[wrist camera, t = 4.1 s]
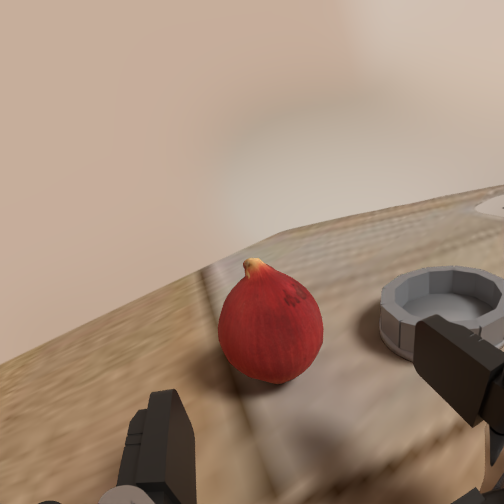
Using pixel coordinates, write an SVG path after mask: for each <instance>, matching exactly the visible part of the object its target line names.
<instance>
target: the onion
mask: <svg viewBox="0 0 504 504" xmlns="http://www.w3.org/2000/svg"><path fill="white" fill-rule="evenodd" d="M243 267H244V268H245V277H244V278H243V279H241V280H240V281H239V282H238V283H237V285H236V286H235V287H234V288H233V289H232V290H231V292H230V293H229V294H228V296H227V298H226V300H225V302H224V305H223V308H222V311H221V314H220V318H219V324H218V337H219V342H220V345H221V347H222V349H223V352H224V354H225V356H226V358H227V359H228V361H229V363H231V364H232V365H233V366H234V367H235V368H236V369H237V370H239V371H240V372H242V373H243V374H245V375H247V376H248V377H251V378H255V379H259V380H262V381H266V382H270V383H273V384H281V383H285V382H287V381H290V380H292V379H294V378H296V377H297V376H299V375H300V374H302V373H303V372H304V371H305V370H306V369H307V368H308V367H309V366H310V365H311V364H312V362H313V361H314V359H315V358H316V356H317V354H318V352H319V350H320V348H321V345H322V343H323V322H322V317H321V313H320V310H319V307H318V305H317V303H316V301H315V299H314V298H313V296H312V295H311V294H310V292H309V291H308V290H307V289H306V288H305V287H304V286H303V285H301V284H300V283H299V282H298V281H296V280H295V279H293V278H291V277H289V276H288V275H286V274H284V273H281V272H279V271H277V270H275V269H274V268H272V267H271V266H269V265H267V264H265V263H263V262H262V261H261V260H260V259H259V258H249V259H247V260H245V261H244V263H243Z"/></svg>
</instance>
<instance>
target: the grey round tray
mask: <svg viewBox="0 0 504 504" xmlns="http://www.w3.org/2000/svg"><path fill="white" fill-rule="evenodd" d="M380 306H381V316H380V320H379V331H380V336H381V338H382V340H383V342H384V343H385V344H386V346H387V347H388V348H389V349H391V350H392V351H393V352H394V353H396V354H397V355H399V356H401V357H403V358H405V359H407V360H409V361H412V362H413V352H414V338H415V326H416V323H417V322H418V321H420V320H422V319H425V318H427V317H430V316H432V315H434V314H438V315H440V316H441V317H443V318H444V319H446V320H447V321H449V322H452V323H456V324H459V325H462V326H465V327H466V328H468V329H469V330H471V331H472V332H474V334H477V335H479V336H480V337H482V339H485V340H486V341H488V342H489V343H491V344H492V345H494V346H495V347H497V348H498V349H501V348H503V346H504V279H502V278H500V277H498V276H496V275H494V274H492V273H489V272H487V271H485V270H481V269H476V268H469V267H462V266H440V267H426V268H422V269H418V270H415V271H412V272H408V273H405V274H402V275H400V276H397V277H396V278H395V279H394V280H392V281H391V282H390V283H388V284H387V285H386V286H384V287H383V289H382V294H381V303H380Z"/></svg>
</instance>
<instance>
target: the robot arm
mask: <svg viewBox="0 0 504 504" xmlns="http://www.w3.org/2000/svg"><path fill="white" fill-rule="evenodd" d="M413 363H414V367H415V369H416V371H417V373H418V374H419V375H420V376H421V377H422V378H423V379H424V380H425V381H426V382H427V383H428V384H429V385H430V386H431V387H432V388H433V389H434V390H435V391H436V392H437V393H438V394H439V395H440V396H441V397H442V398H443V399H444V400H445V401H446V402H447V403H448V404H449V405H450V406H451V407H452V408H453V409H454V410H455V411H456V412H457V413H458V414H459V415H460V416H461V417H462V418H463V419H464V420H465V421H466V422H467V423H468V424H469V425H470V426H471V427H472V428H473V427H475V426H476V425H478V424H479V423H480V422H482V421H483V420H484V421H486V422H487V424H486V427H485V475H484V479H483V482H482V485H481V488H480V491H478V489H477V488H476V487H475V488H474V489H472V490H471V491H469V492H468V493H466V494H465V495H464V496H462V497H461V498H459V499H457V500H456V501H454V502H453V503H451V504H504V352H503V351H501V350H500V349H498V348H497V347H495V346H494V345H492V344H491V343H489V342H488V341H486V340H485V339H482V337H480V336H479V335H477V334H474V332H472V331H471V330H469V329H468V328H466V327H465V326H462V325H459V324H456V323H452V322H449V321H447V320H446V319H444V318H443V317H441V316H440V315H438V314H434V315H432V316H430V317H427V318H425V319H422V320H420V321H418V322H417V323H416V326H415V338H414V352H413ZM127 435H128V437H126V442H125V447H124V451H123V456H122V460H121V465H120V470H119V475H118V480H117V485H116V487H114V488H112V489H110V490H108V491H107V492H106V493H105V494H104V495H103V496H102V497H101V498H100V500H99V502H98V504H197V499H196V470H195V437H194V432H193V428H192V425H191V422H190V420H189V418H188V415H187V413H186V411H185V409H184V406H183V404H182V402H181V399H180V397H179V395H178V393H177V391H176V390H175V389H170V390H164V391H157V392H152V393H151V394H150V398H149V403H148V408H147V409H142V410H138V412H137V413H136V414H135V416H134V417H133V418H132V420H131V421H130V424H129V429H128V433H127ZM39 504H61V503H59V502H56V501H44V502H41V503H39Z"/></svg>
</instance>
